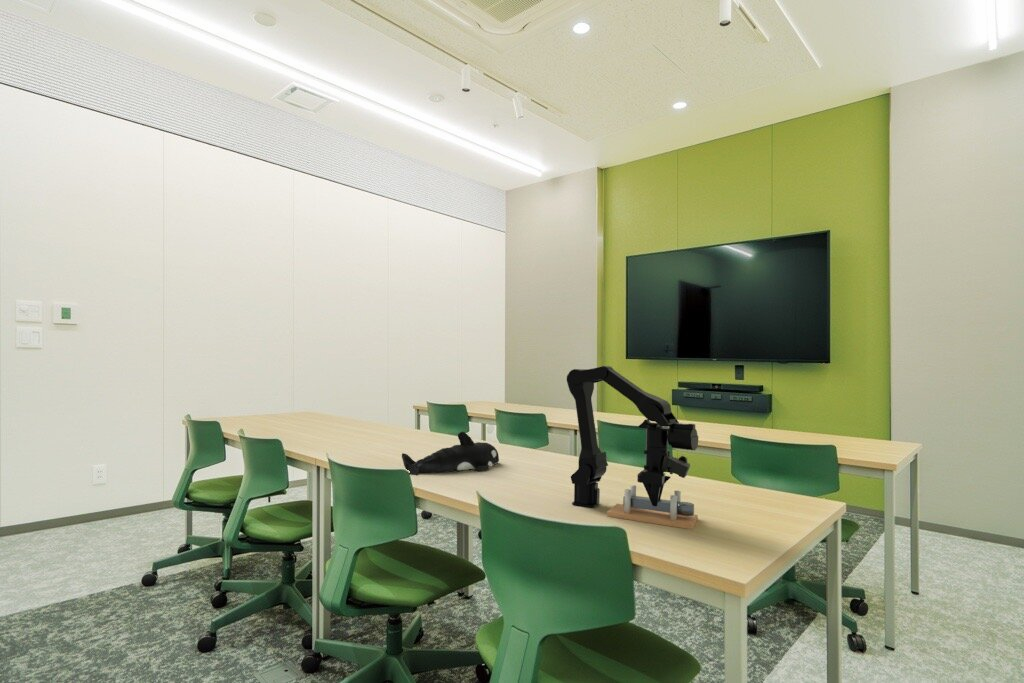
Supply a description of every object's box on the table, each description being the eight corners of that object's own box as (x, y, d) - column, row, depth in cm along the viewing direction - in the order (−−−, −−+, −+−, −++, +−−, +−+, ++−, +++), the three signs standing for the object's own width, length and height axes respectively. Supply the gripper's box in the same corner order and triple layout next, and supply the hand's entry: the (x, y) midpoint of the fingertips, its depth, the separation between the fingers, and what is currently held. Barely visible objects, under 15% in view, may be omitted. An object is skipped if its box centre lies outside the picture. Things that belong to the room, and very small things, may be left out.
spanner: (622, 506, 143) (622, 497, 143) (626, 503, 147) (626, 494, 147) (692, 516, 135) (692, 507, 135) (695, 512, 139) (695, 503, 139)
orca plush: (513, 470, 203) (514, 432, 204) (408, 477, 186) (410, 436, 187) (491, 460, 223) (492, 426, 223) (395, 466, 206) (396, 428, 206)
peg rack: (607, 516, 142) (607, 489, 143) (617, 507, 151) (617, 482, 152) (692, 529, 132) (692, 500, 133) (697, 519, 141) (697, 492, 142)
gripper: (682, 453, 130) (681, 517, 130) (692, 444, 147) (692, 501, 146) (637, 449, 135) (636, 511, 135) (652, 441, 152) (651, 495, 151)
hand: (656, 504), depth 142 cm, fingers closed on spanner, 3 cm apart
